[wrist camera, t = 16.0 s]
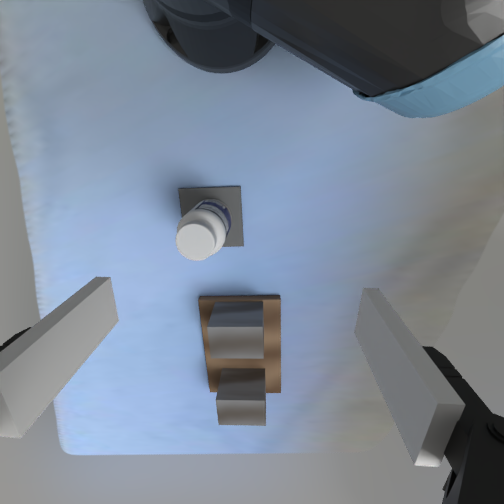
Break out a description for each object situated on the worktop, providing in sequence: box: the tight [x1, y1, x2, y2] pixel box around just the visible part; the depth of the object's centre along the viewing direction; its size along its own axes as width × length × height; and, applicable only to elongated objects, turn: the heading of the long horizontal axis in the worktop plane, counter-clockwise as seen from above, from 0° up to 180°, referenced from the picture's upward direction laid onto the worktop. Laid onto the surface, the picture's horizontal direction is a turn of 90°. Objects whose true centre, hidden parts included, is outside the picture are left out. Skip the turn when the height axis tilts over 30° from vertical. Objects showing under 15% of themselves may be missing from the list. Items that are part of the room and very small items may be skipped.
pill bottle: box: [176, 199, 232, 261], centre depth 32 cm, size 5×5×10 cm
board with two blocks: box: [198, 295, 281, 426], centre depth 41 cm, size 18×12×7 cm, turn 2°
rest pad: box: [178, 186, 244, 247], centre depth 37 cm, size 8×8×1 cm
